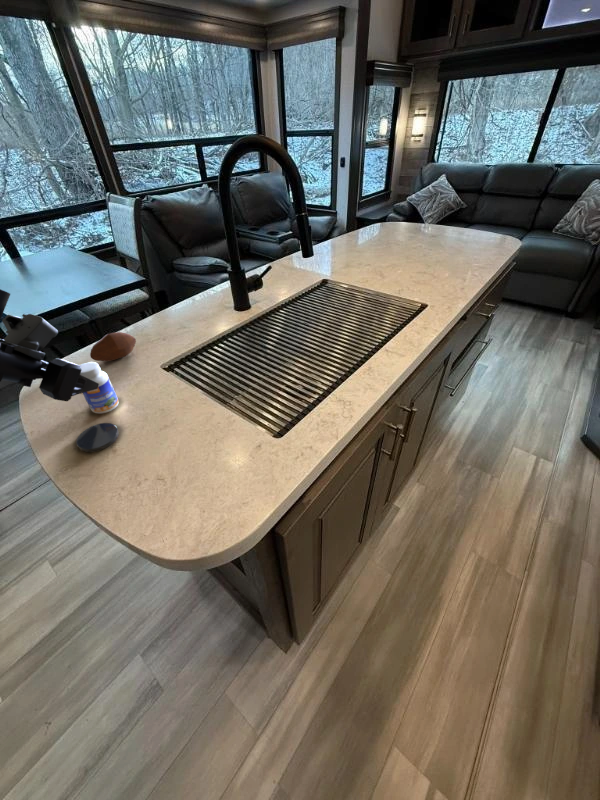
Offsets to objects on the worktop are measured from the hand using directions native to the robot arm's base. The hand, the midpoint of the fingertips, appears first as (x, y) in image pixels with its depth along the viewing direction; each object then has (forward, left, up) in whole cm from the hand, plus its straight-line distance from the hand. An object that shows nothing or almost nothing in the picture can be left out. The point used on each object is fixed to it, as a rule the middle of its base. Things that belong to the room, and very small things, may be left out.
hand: (81, 380), depth 64 cm
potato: (+19, +12, -8) cm, 24 cm away
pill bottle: (+2, 0, -8) cm, 8 cm away
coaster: (-6, -7, -8) cm, 12 cm away
